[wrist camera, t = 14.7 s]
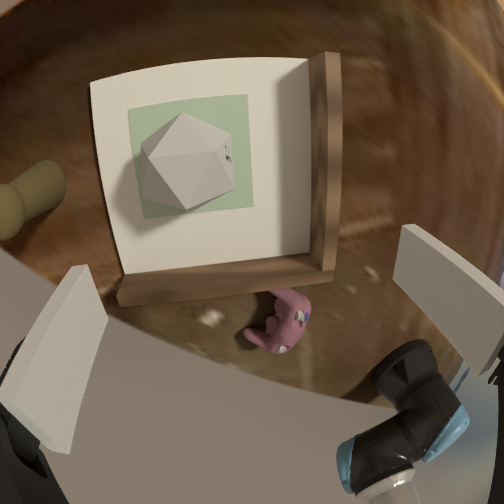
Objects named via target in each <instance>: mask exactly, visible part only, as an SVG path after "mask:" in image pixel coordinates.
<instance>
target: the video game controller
mask: <svg viewBox="0 0 504 504" xmlns="http://www.w3.org/2000/svg"><path fill="white" fill-rule="evenodd" d="M269 292H270V293H271V294H273V295H274V296H276V297H277V298H278V299H276V301H275V303H274V308H275V311H276V312H277V313H278V314H279V315H284V316H283V318H282V320H281V319H280V317H278V316H277V315H274V316H269V317H268V318H267V319H266V327H267V329H268V332H269V333H264V332H261V331H259V330H257V329H253V328H245V329H244V330H243V334H244V336H245V337H246V338H247V339H248V340H249V341H250V342H252V343H254V344H255V345H257V346H259V347H261V348H262V349H264V350H266V351H267V352H269V353H273V354H281V353H284V352H287V351H288V350H289V349H291V348H292V347H293V346H294V345H295V344H296V343H297V342H298V340H299V339H300V337H301V335H302V333H303V331H304V328H305V326H306V322H307V319H308V317H309V316H310V313H311V305H310V302H309V300H308V299H307V298H306V297H305V296H304V295H301V294H299V293H297V292H296V291H294V290H293V289H291V288H283V289H276V290H269Z"/></svg>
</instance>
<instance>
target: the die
mask: <svg viewBox="0 0 504 504" xmlns="http://www.w3.org/2000/svg"><path fill="white" fill-rule="evenodd" d="M141 170H142V194H143V198H145V199H149V200H152V201H156V202H159V203H163V204H167V205H170V206H174V207H177V208H181V209H184V210H188V211H191V212H192V211H193V210H195V209H197V208H199V207H201V206H203V205H205V204H207V203H209V202H210V201H212V200H214V199H216V198H218V197H220V196H222V195H224V194H226V193H228V192H230V191H232V190H234V189H235V184H234V170H233V155H232V141H231V134H230V133H228V132H226V131H224V130H221V129H219V128H217V127H215V126H213V125H211V124H208V123H206V122H204V121H202V120H200V119H197V118H195V117H193V116H190V115H188V114H186V113H183V112H181V113H180V114H178V115H177V116H176V117H174V118H173V119H172V120H170V121H169V122H167V123H166V124H165V125H163V126H162V127H161V128H160V129H158V130H157V131H156V132H154V133H153V134H152V135H151V136H149V137H148V138H147V139H146V140H144V141H143V142H142V143H141Z"/></svg>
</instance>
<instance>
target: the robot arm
mask: <svg viewBox="0 0 504 504" xmlns="http://www.w3.org/2000/svg"><path fill="white" fill-rule="evenodd" d="M393 280H394V281H395V282H396V283H397V284H398V285H399V286H400V287H401V288H402V289H403V291H404V292H405V293H406V294H407V295H408V296H409V297H410V298H411V299H412V300H413V301H414V302H415V303H416V304H417V306H418V307H419V308H420V309H421V310H422V311H423V312H424V313H425V314H426V315H427V317H428V318H429V319H430V320H431V321H432V322H433V323H434V324H435V326H436V327H437V328H438V329H439V330H440V331H441V333H442V334H443V335H444V336H445V337H446V338H447V340H448V341H449V342H450V343H451V344H452V345H453V347H454V348H455V349H456V350H457V352H458V353H459V354H460V355H461V356H462V358H463V359H464V360H465V361H466V363H467V364H468V365H469V366H470V368H471V369H472V370H473V372H474V373H475V374H476V375H477V377H478V376H480V375H481V374H483V373H484V372H486V371H487V370H489V369H490V367H491V366H492V364H493V363H494V361H495V359H496V358H497V357H498V358H499V359H500V360H501V361H500V363H499V364H498V366H497V368H496V369H495V371H494V372H493V374H492V375H491V376H490V378H489V380H488V384H490V383H491V382H492V381H493V379H494V377H495V376H498V377H497V378H496V380H495V381H494V383H493V384H494V385H498V399H499V400H498V401H499V412H498V413H499V414H498V415H499V416H498V437H497V450H496V459H495V466H494V473H493V479H492V485H491V490H490V495H489V500H488V504H504V290H502V289H501V288H500V287H499V286H498V285H497V284H495V283H494V282H493V281H492V280H491V279H489V278H488V277H487V276H486V275H484V274H483V273H482V272H481V271H479V270H478V269H477V268H476V267H474V266H473V265H472V264H470V263H469V262H468V261H466V260H465V259H464V258H462V257H461V256H460V255H458V254H457V253H456V252H454V251H453V250H452V249H450V248H449V247H447V246H446V245H445V244H443V243H442V242H440V241H439V240H438V239H436V238H435V237H433V236H432V235H430V234H429V233H427V232H426V231H424V230H423V229H421V228H420V227H418V226H417V225H415V224H410V225H402V228H401V235H400V241H399V247H398V253H397V258H396V264H395V269H394V274H393ZM107 322H108V317H107V314H106V312H105V310H104V307H103V305H102V302H101V300H100V297H99V295H98V292H97V289H96V287H95V284H94V281H93V279H92V276H91V273H90V270H89V267H88V265H87V264H86V265H79V266H72V267H71V269H70V270H69V272H68V273H67V274H66V276H65V277H64V279H63V280H62V281H61V283H60V284H59V286H58V287H57V289H56V290H55V291H54V293H53V295H52V296H51V297H50V299H49V300H48V302H47V304H46V305H45V307H44V308H43V310H42V311H41V313H40V315H39V316H38V318H37V320H36V321H35V323H34V324H33V326H32V328H31V329H30V331H29V333H28V335H27V336H26V337H25V338H24V339H23V340H22V341H21V342H20V343H19V344H18V345H17V346H16V348H15V350H14V352H13V353H12V355H11V359H10V360H9V361H8V363H7V365H6V368H5V369H4V371H3V373H2V375H1V377H0V504H69V503H68V501H67V499H66V497H65V495H64V494H63V492H62V490H61V488H60V487H59V485H58V483H57V481H56V479H55V477H54V475H53V473H52V471H51V469H50V467H49V464H48V462H47V460H46V458H45V456H44V454H43V453H42V451H41V450H40V449H39V444H40V442H42V443H43V444H44V445H45V446H46V447H47V448H48V449H50V450H51V451H55V452H60V453H64V454H70V450H71V444H72V440H73V435H74V431H75V426H76V422H77V418H78V414H79V410H80V406H81V403H82V399H83V395H84V392H85V388H86V385H87V381H88V378H89V375H90V372H91V368H92V365H93V362H94V359H95V356H96V353H97V350H98V347H99V344H100V341H101V338H102V336H103V333H104V330H105V327H106V324H107ZM372 383H373V385H374V387H375V389H376V390H377V392H379V393H380V394H381V395H382V396H383V397H385V398H386V399H387V400H388V401H389V402H391V403H392V404H393V405H394V406H395V408H396V410H397V412H398V414H397V415H395V416H393V417H391V418H390V419H388V420H386V421H384V422H382V423H381V424H379V425H377V426H375V427H373V428H371V429H369V430H367V431H365V432H363V433H361V434H357V435H355V436H354V437H353V438H351V439H349V440H347V441H345V442H343V443H342V444H341V445H340V446H339V447H338V449H337V453H336V460H337V468H338V473H339V477H340V480H341V481H342V486H343V488H344V490H345V491H346V493H349V494H353V493H355V495H356V498H357V499H359V500H362V501H365V502H367V504H421V502H420V500H419V498H418V496H417V493H416V491H415V489H414V487H413V485H412V483H411V480H412V477H413V475H414V473H415V469H414V467H413V465H412V464H413V463H415V462H416V461H418V460H420V459H422V461H423V462H425V463H427V462H429V461H430V460H432V459H434V458H435V457H437V456H438V455H439V454H441V453H442V452H443V451H444V450H445V449H447V448H448V447H449V446H450V445H451V444H452V443H453V442H454V441H455V440H456V439H457V438H458V437H459V436H460V435H461V434H462V433H463V432H464V431H465V430H466V428H467V427H468V424H469V417H468V415H467V413H466V411H465V409H464V408H463V404H461V403H460V401H459V400H458V398H457V397H456V395H455V394H454V392H453V391H452V389H451V388H450V387H449V385H448V384H447V382H446V381H445V380H444V378H443V377H442V375H441V374H440V372H439V370H438V366H437V363H436V359H435V356H434V353H433V350H432V348H431V347H430V345H429V344H428V343H427V342H426V341H425V340H415V341H412V342H409V343H407V344H405V345H403V346H401V347H400V348H398V349H397V350H395V351H394V352H392V353H391V354H390V355H389V356H388V357H386V358H385V359H384V360H383V361H382V362H381V364H380V365H379V366H378V367H377V369H376V370H375V372H374V374H373V376H372Z"/></svg>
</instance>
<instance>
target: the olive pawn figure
mask: <svg viewBox="0 0 504 504" xmlns="http://www.w3.org/2000/svg"><path fill="white" fill-rule="evenodd" d="M65 193H66V178H65V175H64V172H63V171H62V169H61V168H60V166H59V165H57V164H56V163H55V162H53V161H50V160H41V161H40V162H38V163H36V164H35V165H33V166H32V167H30V168H29V169H28V170H26V171H25V172H23V173H22V174H21V175H19V176H18V177H17V178H16V179H14V180H13V181H12V182H10V183H9V184H0V240H8V239H10V238H12V237H14V236H15V235H16V234H17V233H18V232H19V231H20V229H21V228H22V226H23V224H24V222H25V221H27V220H29V219H31V218H33V217H35V216H37V215H39V214H42V213H44V212H46V211H48V210H50V209H52V208H54V207H57V206H58V205H59V204H60V203H61V202H62V200H63V198H64V196H65Z"/></svg>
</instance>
